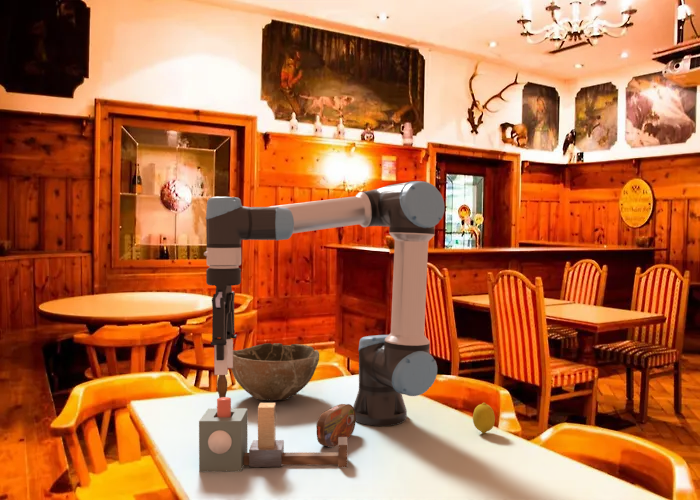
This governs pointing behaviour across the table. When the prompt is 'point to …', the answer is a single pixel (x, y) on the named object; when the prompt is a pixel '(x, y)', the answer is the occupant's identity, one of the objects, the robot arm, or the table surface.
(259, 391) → the bowl
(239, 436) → the grey hole block
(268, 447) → the block
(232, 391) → the table surface
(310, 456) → the rail
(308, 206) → the robot arm
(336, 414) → the tin
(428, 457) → the table surface
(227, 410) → the red rounded peg
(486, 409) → the lemon
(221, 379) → the hand bell
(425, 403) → the table surface
